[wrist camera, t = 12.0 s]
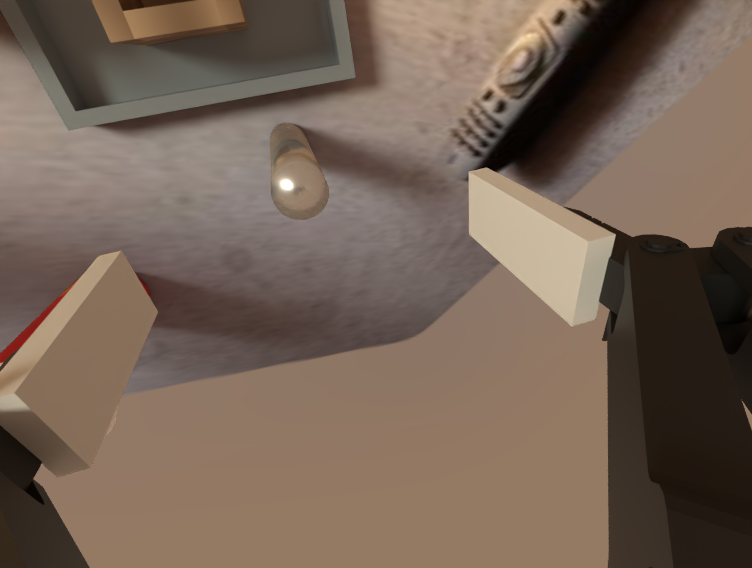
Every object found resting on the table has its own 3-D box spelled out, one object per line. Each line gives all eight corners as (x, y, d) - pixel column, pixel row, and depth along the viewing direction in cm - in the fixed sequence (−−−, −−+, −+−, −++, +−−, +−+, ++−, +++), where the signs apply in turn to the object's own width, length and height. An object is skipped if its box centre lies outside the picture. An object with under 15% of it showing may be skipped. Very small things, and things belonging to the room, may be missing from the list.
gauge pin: (275, 163, 32) (280, 225, 20) (265, 126, 30) (263, 170, 19) (310, 156, 32) (333, 212, 21) (301, 119, 31) (322, 158, 19)
